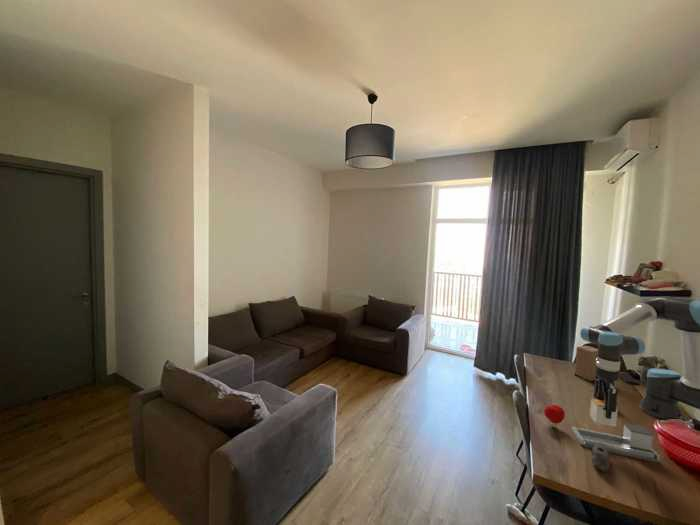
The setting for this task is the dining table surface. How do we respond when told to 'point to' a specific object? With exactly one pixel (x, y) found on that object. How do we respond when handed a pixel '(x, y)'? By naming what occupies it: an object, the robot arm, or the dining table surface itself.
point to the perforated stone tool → (600, 456)
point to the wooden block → (586, 362)
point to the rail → (621, 441)
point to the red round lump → (554, 414)
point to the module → (601, 412)
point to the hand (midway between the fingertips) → (602, 420)
